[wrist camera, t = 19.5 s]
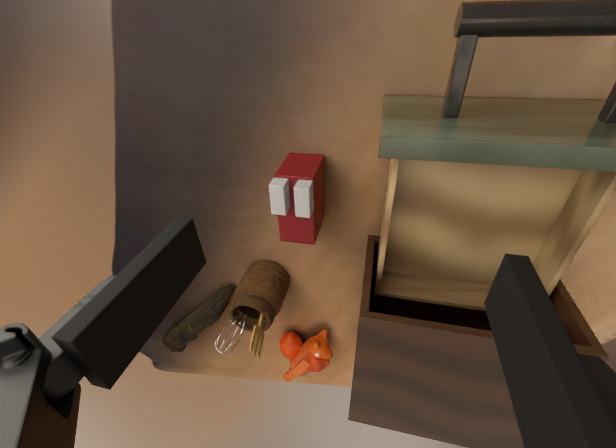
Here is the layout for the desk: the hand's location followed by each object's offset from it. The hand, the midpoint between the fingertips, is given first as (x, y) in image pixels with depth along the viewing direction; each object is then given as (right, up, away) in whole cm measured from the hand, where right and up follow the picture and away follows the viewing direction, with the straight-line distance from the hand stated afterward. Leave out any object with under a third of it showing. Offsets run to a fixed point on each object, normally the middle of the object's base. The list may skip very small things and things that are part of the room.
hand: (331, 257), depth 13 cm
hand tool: (-17, -11, +34) cm, 40 cm away
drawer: (+13, +6, +13) cm, 19 cm away
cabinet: (+14, -8, +23) cm, 28 cm away
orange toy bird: (-1, -16, +33) cm, 37 cm away
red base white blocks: (-1, +5, +18) cm, 19 cm away
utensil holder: (-6, -5, +27) cm, 28 cm away
